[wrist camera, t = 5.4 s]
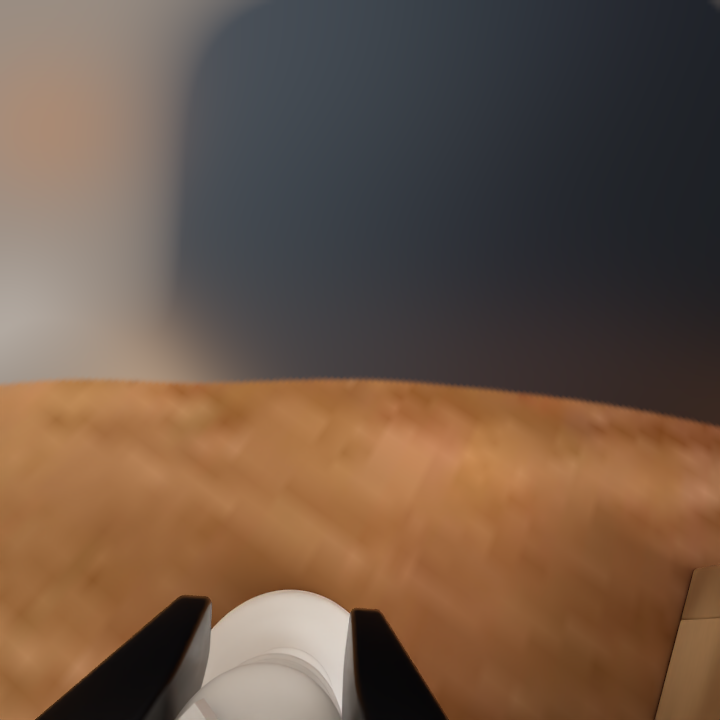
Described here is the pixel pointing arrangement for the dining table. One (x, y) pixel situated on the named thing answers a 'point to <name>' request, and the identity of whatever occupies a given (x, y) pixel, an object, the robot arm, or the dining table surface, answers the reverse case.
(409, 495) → the dining table surface
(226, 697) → the chess piece
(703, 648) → the rack
